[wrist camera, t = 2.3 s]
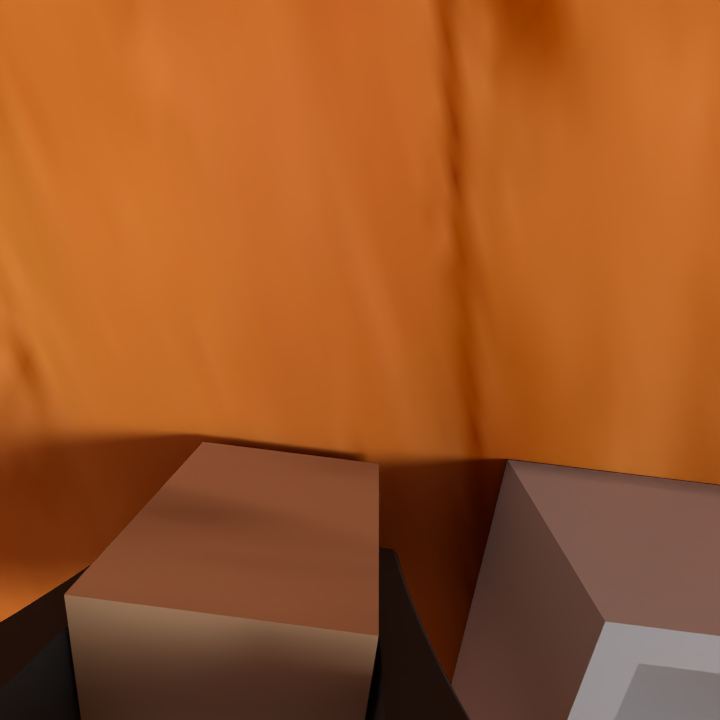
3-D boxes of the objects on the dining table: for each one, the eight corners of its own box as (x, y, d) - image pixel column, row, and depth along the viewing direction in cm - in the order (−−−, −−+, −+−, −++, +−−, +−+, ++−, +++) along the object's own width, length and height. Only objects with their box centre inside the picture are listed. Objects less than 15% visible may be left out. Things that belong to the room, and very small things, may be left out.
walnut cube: (359, 601, 12) (346, 830, 7) (203, 581, 12) (91, 795, 8) (378, 463, 11) (378, 635, 6) (203, 441, 11) (64, 594, 6)
